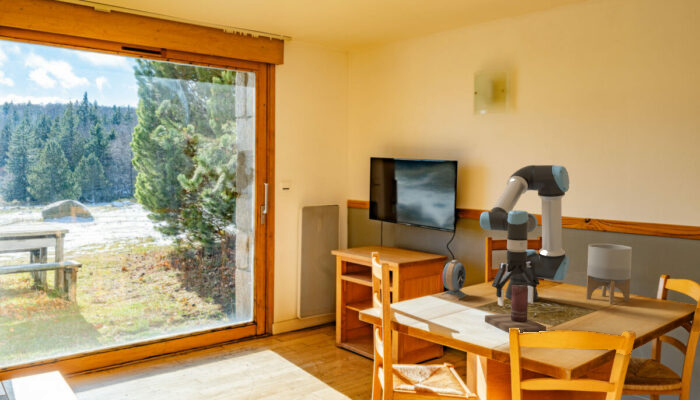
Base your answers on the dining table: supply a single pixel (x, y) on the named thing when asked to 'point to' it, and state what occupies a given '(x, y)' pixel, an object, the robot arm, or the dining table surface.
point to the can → (519, 303)
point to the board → (513, 323)
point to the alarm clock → (454, 280)
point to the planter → (609, 269)
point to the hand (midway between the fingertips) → (515, 304)
